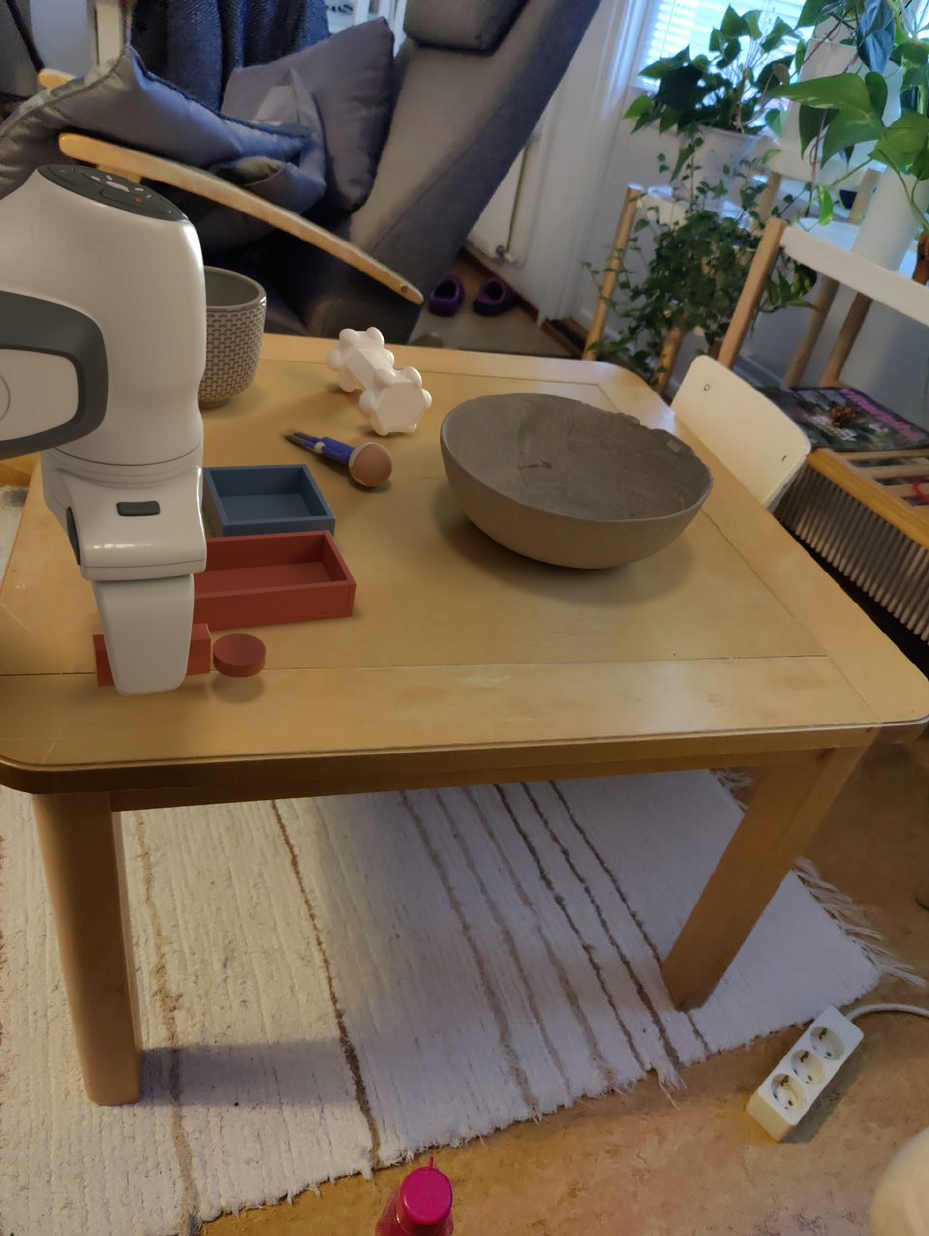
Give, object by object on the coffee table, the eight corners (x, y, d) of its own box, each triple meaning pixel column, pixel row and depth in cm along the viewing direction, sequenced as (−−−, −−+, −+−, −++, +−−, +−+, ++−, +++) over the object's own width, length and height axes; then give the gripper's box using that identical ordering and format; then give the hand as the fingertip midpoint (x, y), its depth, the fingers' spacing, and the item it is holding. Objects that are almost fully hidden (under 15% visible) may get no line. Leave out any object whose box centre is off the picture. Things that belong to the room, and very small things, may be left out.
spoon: (99, 697, 58) (97, 660, 57) (92, 662, 61) (90, 625, 59) (271, 674, 64) (274, 639, 62) (258, 642, 66) (260, 608, 64)
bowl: (730, 569, 93) (766, 488, 87) (542, 636, 78) (571, 542, 72) (561, 450, 109) (582, 374, 103) (376, 486, 93) (389, 399, 87)
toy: (270, 450, 97) (367, 491, 89) (279, 409, 96) (378, 447, 88) (300, 453, 101) (395, 493, 93) (309, 414, 100) (406, 451, 92)
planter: (264, 427, 99) (270, 314, 91) (134, 419, 95) (129, 300, 87) (258, 376, 109) (263, 271, 102) (141, 367, 105) (136, 256, 98)
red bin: (172, 637, 68) (171, 600, 66) (156, 576, 74) (155, 541, 72) (352, 617, 75) (356, 583, 72) (325, 562, 80) (328, 529, 78)
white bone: (429, 438, 105) (440, 373, 100) (361, 440, 101) (370, 374, 96) (382, 384, 115) (391, 323, 110) (320, 385, 111) (326, 322, 106)
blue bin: (222, 559, 78) (222, 525, 76) (201, 499, 85) (201, 467, 83) (332, 550, 82) (335, 518, 80) (303, 494, 89) (306, 463, 87)
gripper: (51, 395, 57) (64, 567, 65) (84, 575, 43) (96, 766, 51) (152, 396, 60) (153, 562, 68) (214, 566, 46) (205, 749, 54)
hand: (128, 651), depth 59 cm, fingers closed on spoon, 2 cm apart
